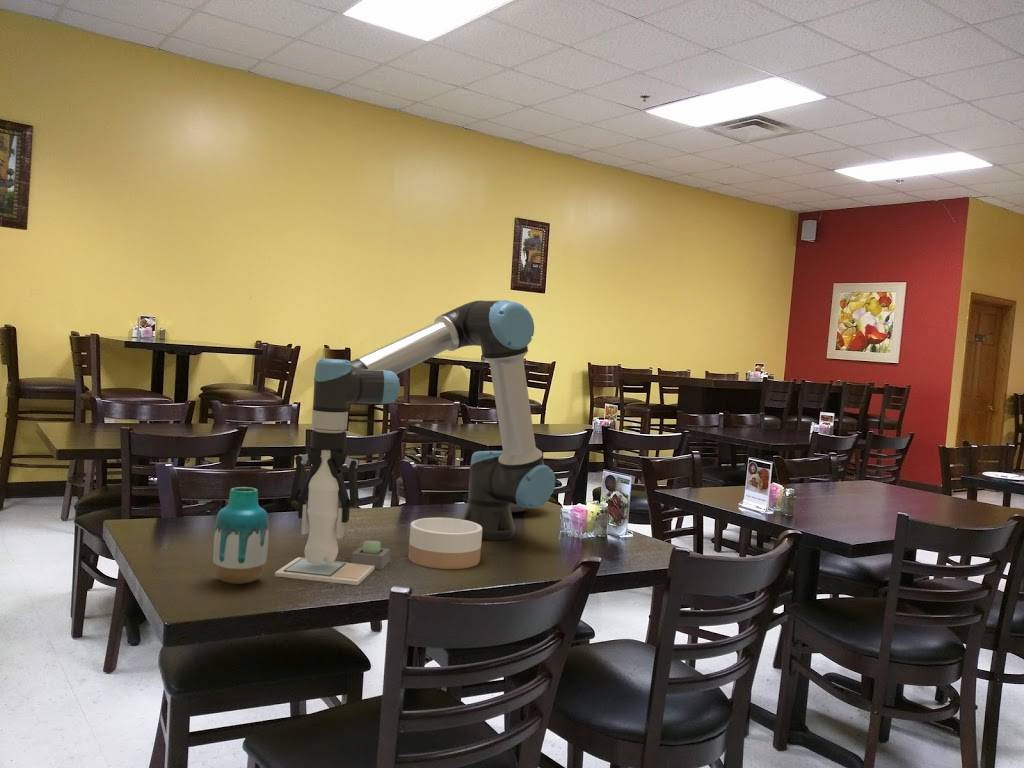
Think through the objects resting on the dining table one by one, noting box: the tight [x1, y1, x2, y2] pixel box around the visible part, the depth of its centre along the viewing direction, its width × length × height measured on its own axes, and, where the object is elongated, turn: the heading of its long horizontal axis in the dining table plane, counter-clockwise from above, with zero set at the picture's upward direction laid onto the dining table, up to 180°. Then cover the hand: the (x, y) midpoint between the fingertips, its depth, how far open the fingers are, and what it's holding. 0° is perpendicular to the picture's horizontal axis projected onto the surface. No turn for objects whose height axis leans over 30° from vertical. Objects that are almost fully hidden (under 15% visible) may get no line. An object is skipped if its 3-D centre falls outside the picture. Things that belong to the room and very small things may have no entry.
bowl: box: [408, 517, 482, 570], centre depth 200 cm, size 17×17×8 cm
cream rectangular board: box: [274, 557, 376, 586], centre depth 181 cm, size 18×13×1 cm
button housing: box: [350, 545, 391, 571], centre depth 190 cm, size 7×7×3 cm
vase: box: [212, 486, 270, 585], centre depth 170 cm, size 11×11×19 cm
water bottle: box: [304, 450, 342, 566], centre depth 181 cm, size 7×7×25 cm
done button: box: [362, 539, 382, 555], centre depth 190 cm, size 4×4×4 cm
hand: (322, 535), depth 181 cm, fingers closed on water bottle, 7 cm apart
